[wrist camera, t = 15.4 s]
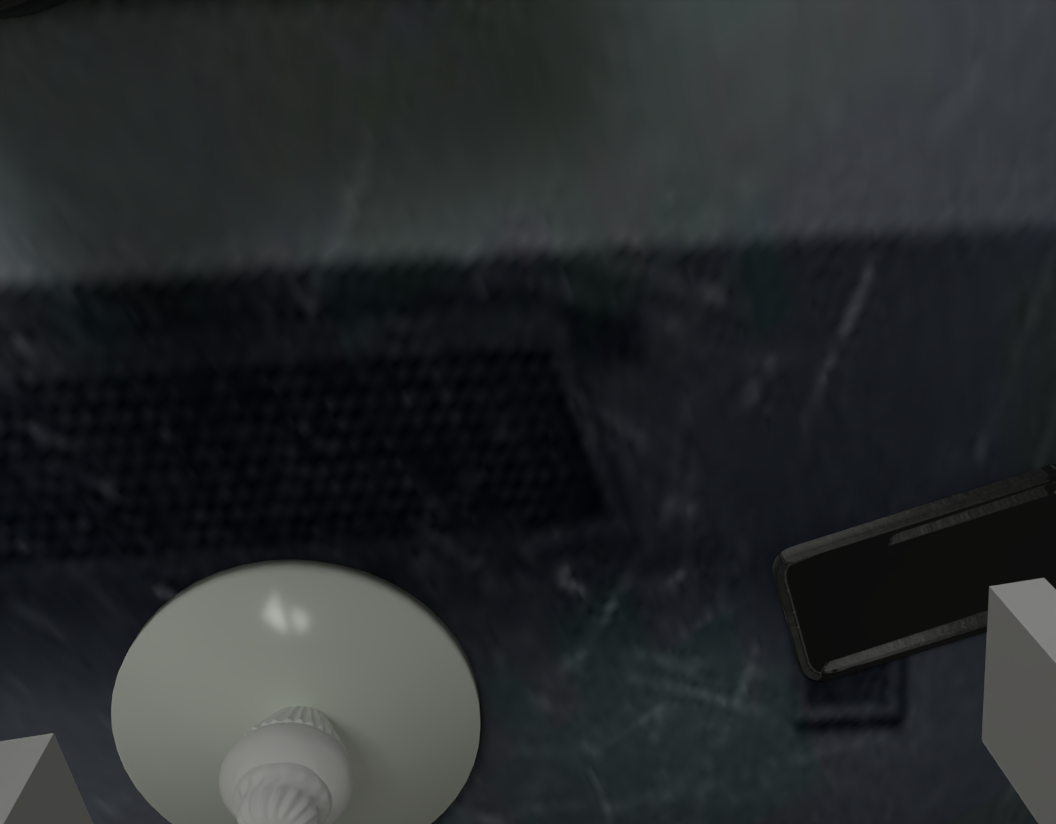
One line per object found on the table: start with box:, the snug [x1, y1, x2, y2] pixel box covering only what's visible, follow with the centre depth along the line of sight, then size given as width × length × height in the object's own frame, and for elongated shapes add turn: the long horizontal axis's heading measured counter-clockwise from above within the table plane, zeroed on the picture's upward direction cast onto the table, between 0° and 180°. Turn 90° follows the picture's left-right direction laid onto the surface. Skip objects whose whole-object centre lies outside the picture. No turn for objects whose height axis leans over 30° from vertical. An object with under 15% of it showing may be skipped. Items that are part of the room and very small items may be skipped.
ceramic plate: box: [111, 559, 480, 824], centre depth 50 cm, size 18×18×1 cm
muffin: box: [219, 705, 354, 824], centre depth 46 cm, size 6×6×7 cm
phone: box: [772, 464, 1056, 681], centre depth 49 cm, size 8×1×15 cm
